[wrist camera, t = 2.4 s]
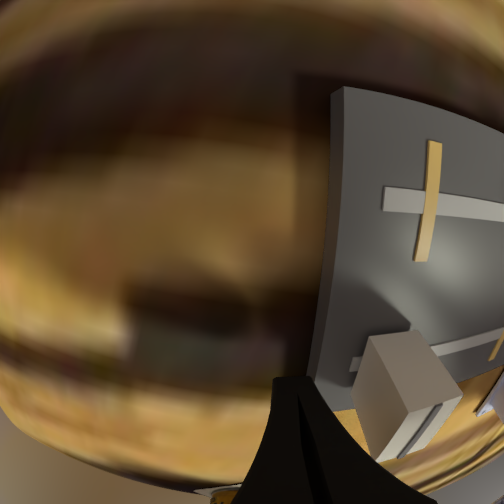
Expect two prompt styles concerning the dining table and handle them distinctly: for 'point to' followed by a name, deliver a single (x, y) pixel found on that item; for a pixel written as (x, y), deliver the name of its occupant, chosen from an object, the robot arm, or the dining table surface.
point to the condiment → (220, 493)
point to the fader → (402, 394)
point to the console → (409, 238)
